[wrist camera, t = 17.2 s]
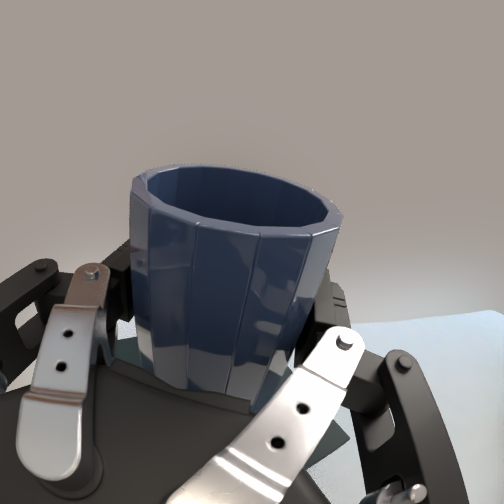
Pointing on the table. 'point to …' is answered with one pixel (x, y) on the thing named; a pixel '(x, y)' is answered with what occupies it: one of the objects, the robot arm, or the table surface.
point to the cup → (225, 274)
